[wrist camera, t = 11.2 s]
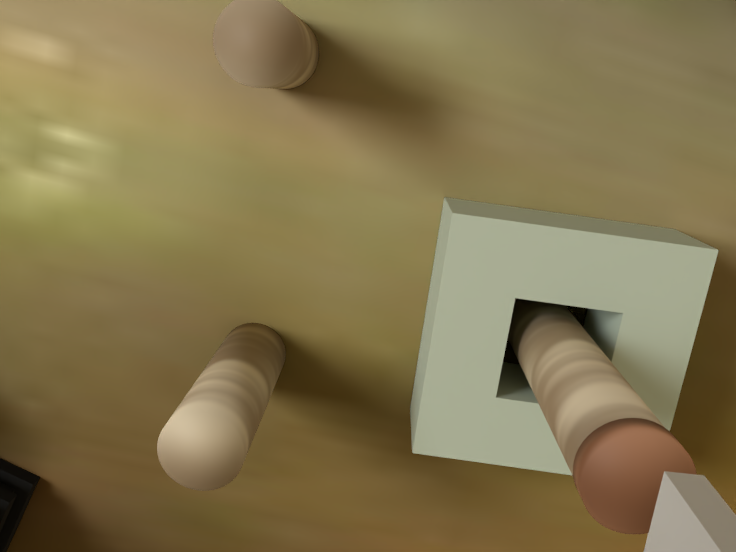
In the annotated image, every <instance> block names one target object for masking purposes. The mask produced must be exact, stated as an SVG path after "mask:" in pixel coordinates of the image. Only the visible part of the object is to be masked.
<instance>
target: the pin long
mask: <svg viewBox="0 0 736 552" xmlns="http://www.w3.org/2000/svg"><path fill="white" fill-rule="evenodd" d="M508 340H509V342H510V344H511V346H512V349H513V351H514V353H515V355H516V357H517V359H518V361H519V363H520V365H521V368H522V370H523V372H524V374H525V376H526V378H527V380H528V382H529V385H530V387H531V389H532V391H533V393H534V395H535V397H536V399H537V401H538V404H539V406H540V408H541V410H542V412H543V414H544V416H545V418H546V421H547V423H548V425H549V427H550V429H551V431H552V433H553V435H554V437H555V440H556V442H557V444H558V446H559V448H560V450H561V452H562V454H563V457H564V459H565V461H566V463H567V465H568V467H569V469H570V471H571V473H572V476H573V478H574V482H575V485H576V488H577V490H578V492H579V494H580V496H581V498H582V500H583V503H584V505H585V507H586V509H587V510H588V512H589V513H590V515H591V516H592V517H593V518H594V519H595V520H596V521H597V522H599V523H600V524H601V525H603V526H605V527H606V528H608V529H611V530H613V531H616V532H620V533H625V534H643V533H649V529H650V525H651V521H652V517H653V513H654V509H655V505H656V501H657V498H658V494H659V490H660V486H661V482H662V478H663V474H664V471H668V472H677V473H686V474H695V475H696V469H695V465H694V463H693V460H692V459H691V457H690V455H689V454H688V452H687V451H686V450H685V449H684V448H683V446H682V445H681V444H680V443H679V442H678V440H677V439H676V438H675V437H674V436H673V434H672V433H671V432H670V431H668V430H667V429H666V428H665V427H664V426H663V425H662V423H661V422H660V421H659V420H658V418H657V417H656V416H655V415H654V414H653V412H652V411H651V410H650V409H649V407H648V406H647V405H646V404H645V403H644V401H643V400H642V399H641V398H640V396H639V395H638V394H637V393H636V392H635V390H634V389H633V388H632V387H631V385H630V384H629V383H628V382H627V381H626V379H625V378H624V377H623V376H622V374H621V373H620V372H619V371H618V370H617V368H616V367H615V366H614V365H613V363H612V362H611V361H610V360H609V359H608V357H607V356H606V355H605V354H604V353H603V351H602V350H601V349H600V348H599V346H598V345H597V344H596V343H595V342H594V340H593V339H592V338H591V337H590V335H589V334H588V333H587V332H586V331H585V329H584V328H583V327H582V326H581V324H580V323H579V322H578V321H577V320H576V318H575V317H574V316H573V315H572V313H571V312H570V311H569V310H568V309H567V307H566V306H565V305H561V304H554V303H546V302H539V301H532V300H525V299H517V300H516V301H515V303H514V308H513V313H512V318H511V323H510V328H509V333H508Z"/></svg>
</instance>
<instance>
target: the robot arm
mask: <svg viewBox="0 0 736 552" xmlns="http://www.w3.org/2000/svg"><path fill="white" fill-rule="evenodd" d="M644 552H736V515H735V514H734V512H733V511H732V510H731V509H730V507H729V506H728V505H727V504H726V502H725V501H724V500H723V499H722V497H721V496H720V495H719V494H718V492H717V491H716V490H715V489H714V487H713V486H712V485H711V484H710V482H709V481H708V480H707V479H706V477H705V476H704V475H695V474H686V473H677V472H668V471H664V474H663V478H662V482H661V486H660V490H659V494H658V498H657V501H656V505H655V509H654V513H653V517H652V521H651V525H650V529H649V533H648V537H647V541H646V545H645V549H644Z"/></svg>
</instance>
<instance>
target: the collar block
mask: <svg viewBox="0 0 736 552" xmlns="http://www.w3.org/2000/svg"><path fill="white" fill-rule="evenodd" d="M718 251H719V250H718V249H716V248H714V247H711V246H709V245H707V244H705V243H703V242H701V241H699V240H697V239H695V238H692V237H690V236H688V235H686V234H684V233H682V232H680V231H678V230H676V229H670V228H663V227H656V226H649V225H641V224H634V223H627V222H620V221H613V220H605V219H598V218H591V217H584V216H577V215H569V214H562V213H555V212H548V211H541V210H533V209H526V208H519V207H512V206H505V205H497V204H490V203H483V202H476V201H469V200H461V199H454V198H447V197H444V203H443V209H442V216H441V222H440V228H439V234H438V240H437V246H436V252H435V258H434V265H433V271H432V277H431V283H430V289H429V295H428V301H427V308H426V314H425V320H424V326H423V332H422V338H421V344H420V351H419V357H418V363H417V369H416V375H415V381H414V387H413V393H412V400H411V406H410V418H411V437H412V453H416V454H423V455H430V456H438V457H445V458H452V459H459V460H466V461H473V462H481V463H488V464H495V465H502V466H509V467H516V468H524V469H531V470H538V471H545V472H552V473H559V474H567V475H572V473H571V471H570V469H569V467H568V465H567V463H566V461H565V459H564V457H563V454H562V452H561V450H560V448H559V446H558V444H557V442H556V440H555V437H554V435H553V433H552V431H551V429H550V427H549V425H548V423H547V421H546V418H545V416H544V414H543V412H542V410H541V408H540V406H539V404H538V401H537V399H536V397H535V395H534V393H533V391H532V389H531V387H530V385H529V382H528V380H527V378H526V376H525V374H524V372H523V370H522V368H521V365H520V364H514V363H507V362H503V359H504V354H505V348H506V343H507V338H508V333H509V328H510V323H511V318H512V313H513V308H514V303H515V298H518V299H525V300H532V301H539V302H546V303H554V304H561V305H568V306H575V307H582V308H588V309H587V314H586V318H585V322H584V327H583V328H584V329H585V331H586V332H587V333H588V334H589V335H590V337H591V338H592V339H593V340H594V342H595V343H596V344H597V345H598V346H599V348H600V349H601V350H602V351H603V353H604V354H605V355H606V356H607V357H608V359H609V360H610V361H611V362H612V363H613V365H614V366H615V367H616V368H617V370H618V371H619V372H620V373H621V374H622V376H623V377H624V378H625V379H626V381H627V382H628V383H629V384H630V385H631V387H632V388H633V389H634V390H635V392H636V393H637V394H638V395H639V396H640V398H641V399H642V400H643V401H644V403H645V404H646V405H647V406H648V407H649V409H650V410H651V411H652V412H653V414H654V415H655V416H656V417H657V418H658V420H659V421H660V422H661V423H662V425H663V426H664V427H665V428H666V429H667V430H668V431H670V429H671V425H672V421H673V417H674V414H675V410H676V406H677V403H678V399H679V395H680V392H681V388H682V384H683V380H684V377H685V373H686V369H687V366H688V362H689V358H690V354H691V351H692V347H693V343H694V340H695V336H696V332H697V329H698V325H699V321H700V317H701V314H702V310H703V306H704V303H705V299H706V295H707V292H708V288H709V284H710V280H711V277H712V273H713V269H714V266H715V262H716V258H717V254H718Z"/></svg>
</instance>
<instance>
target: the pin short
mask: <svg viewBox="0 0 736 552" xmlns="http://www.w3.org/2000/svg"><path fill="white" fill-rule="evenodd" d="M213 46H214V51H215V55H216V57H217V60H218V62H219V64H220V65H221V67H222V68H223V70H224V71H225V72H226V73H227V74H228V75H229V76H230V77H231V78H232V79H234V80H235V81H237V82H239V83H241V84H243V85H246V86H250V87H259V88H276V89H290V88H295V87H298V86H300V85H302V84H303V83H305V82H306V81H307V80H308V79H309V78H310V77H311V76H312V74H313V73H314V71H315V69H316V67H317V64H318V59H319V47H318V42H317V39H316V37H315V35H314V33H313V31H312V30H311V29H310V27H309V26H308V25H307V24H306V23H304V22H303V21H302V20H301V19H300V18H298V17H297V16H296V15H295V14H293V13H292V12H291V11H290V10H289V9H287V8H286V7H285V6H284V5H282V4H281V3H280V2H278V1H276V0H234V1H233V2H231V3H230V4H229V5H228V6H227V7H225V8H224V10H223V11H222V12H221V14H220V15H219V17H218V19H217V22H216V24H215V28H214V33H213Z"/></svg>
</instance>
